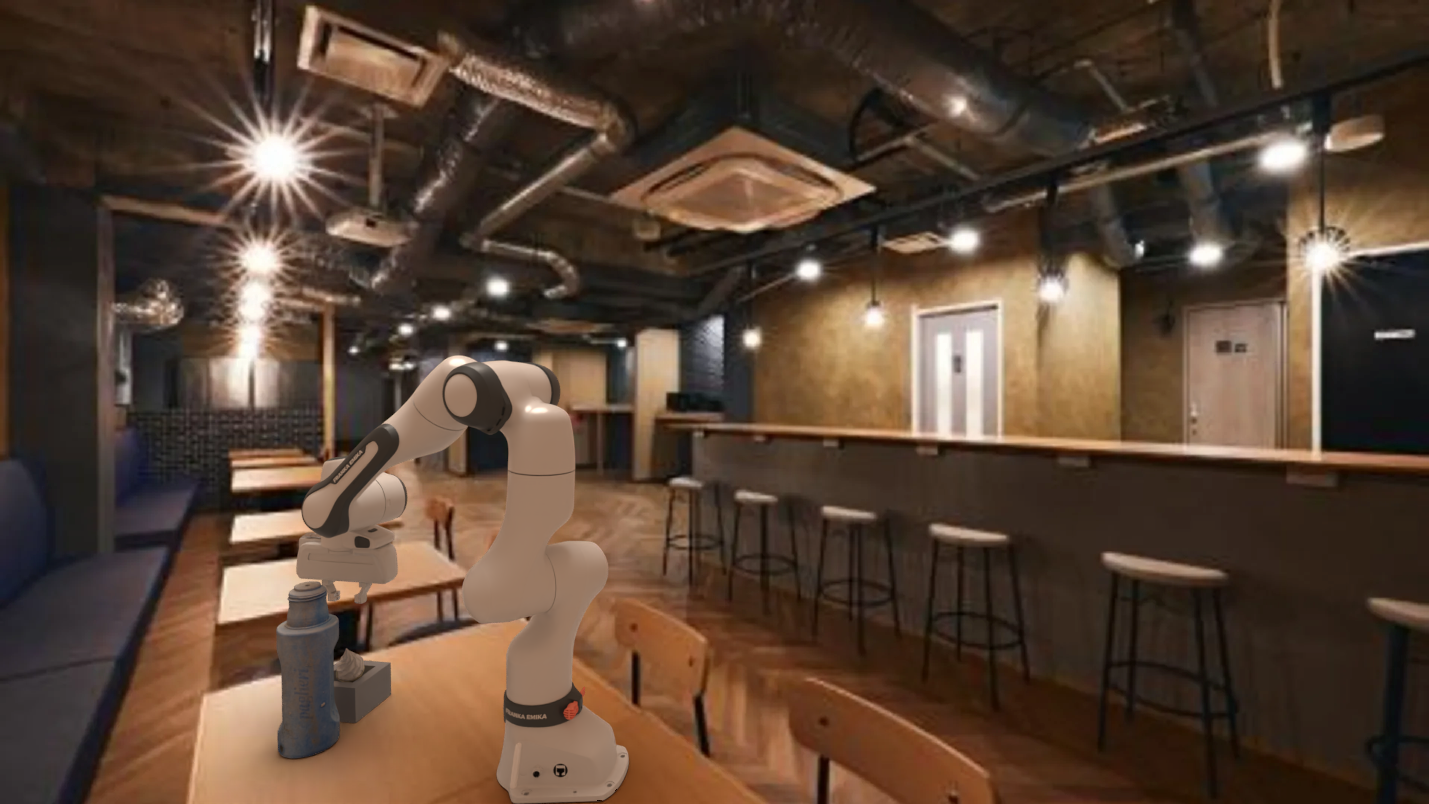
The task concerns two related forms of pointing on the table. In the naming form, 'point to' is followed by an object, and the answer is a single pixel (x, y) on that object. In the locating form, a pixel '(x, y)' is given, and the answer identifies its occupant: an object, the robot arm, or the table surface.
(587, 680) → the table surface
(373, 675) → the box
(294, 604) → the bottle
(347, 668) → the ice cream cone
